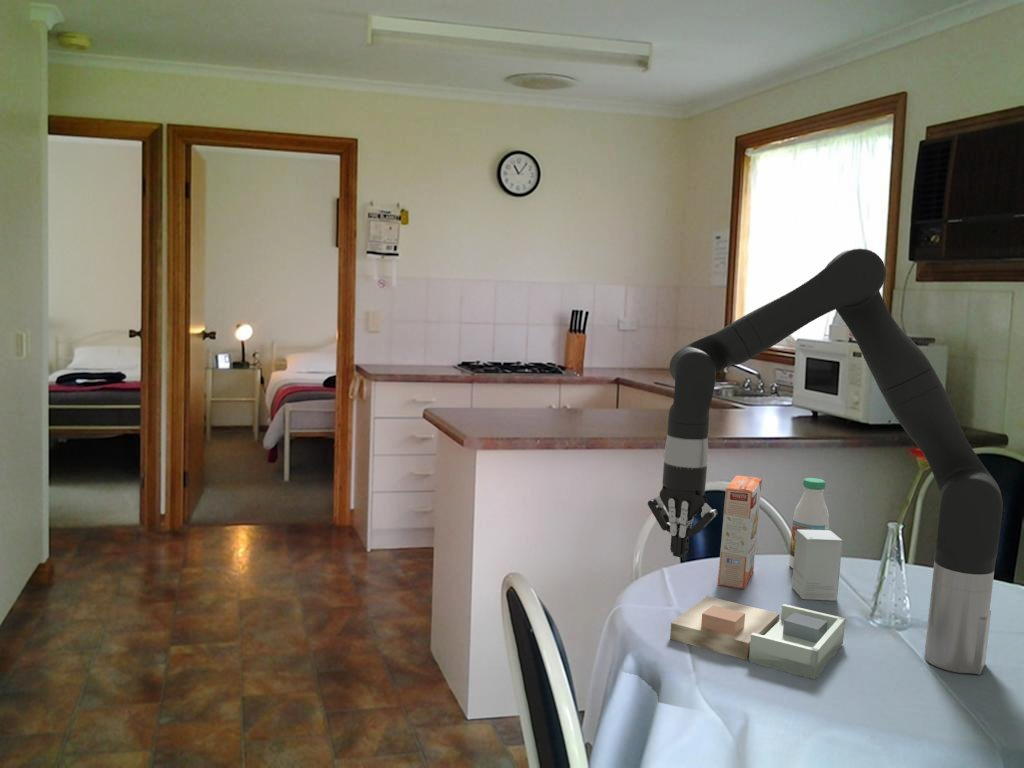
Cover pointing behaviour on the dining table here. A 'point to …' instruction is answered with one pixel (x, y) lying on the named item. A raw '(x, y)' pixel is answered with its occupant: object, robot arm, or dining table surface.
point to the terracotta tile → (723, 620)
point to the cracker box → (739, 531)
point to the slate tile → (805, 627)
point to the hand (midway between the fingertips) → (678, 555)
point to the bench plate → (737, 646)
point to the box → (797, 645)
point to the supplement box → (817, 564)
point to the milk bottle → (809, 511)
